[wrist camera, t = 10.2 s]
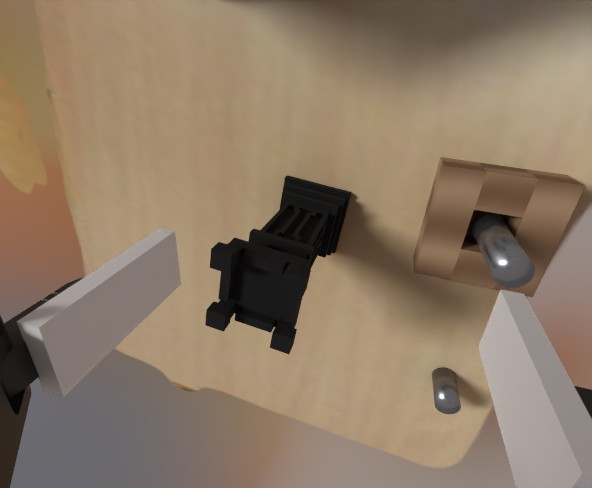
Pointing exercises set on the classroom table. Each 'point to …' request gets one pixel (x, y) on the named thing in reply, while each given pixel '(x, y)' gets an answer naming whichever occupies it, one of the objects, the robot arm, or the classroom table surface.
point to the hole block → (497, 199)
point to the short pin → (445, 391)
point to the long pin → (501, 250)
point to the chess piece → (277, 261)
